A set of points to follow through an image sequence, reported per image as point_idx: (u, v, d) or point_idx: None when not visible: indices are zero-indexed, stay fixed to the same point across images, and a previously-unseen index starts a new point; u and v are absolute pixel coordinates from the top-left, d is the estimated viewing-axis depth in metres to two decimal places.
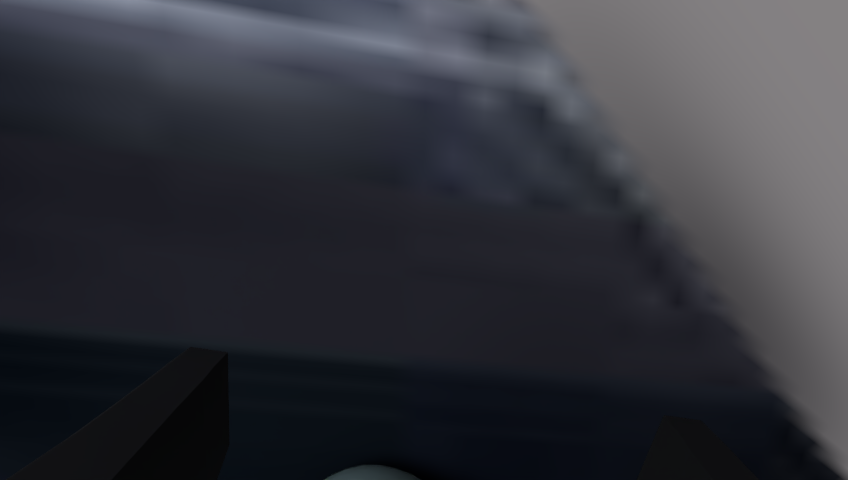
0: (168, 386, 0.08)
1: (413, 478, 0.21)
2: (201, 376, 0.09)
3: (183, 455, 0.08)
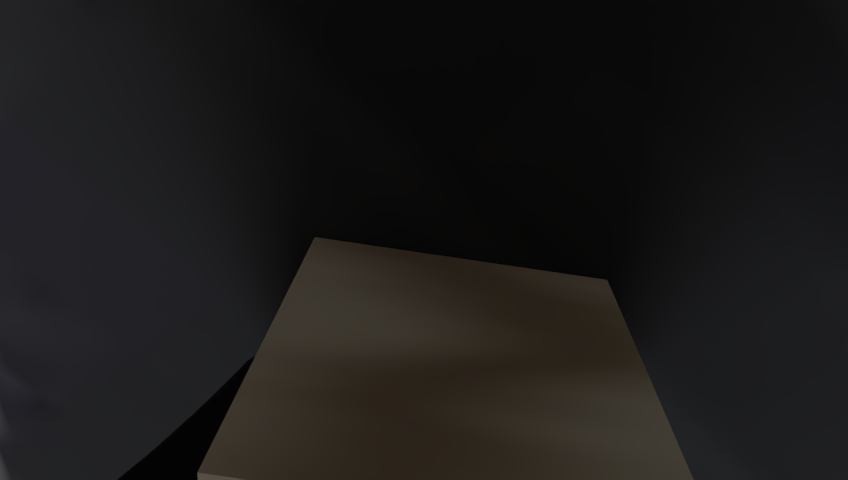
0: None
1: None
2: None
3: None
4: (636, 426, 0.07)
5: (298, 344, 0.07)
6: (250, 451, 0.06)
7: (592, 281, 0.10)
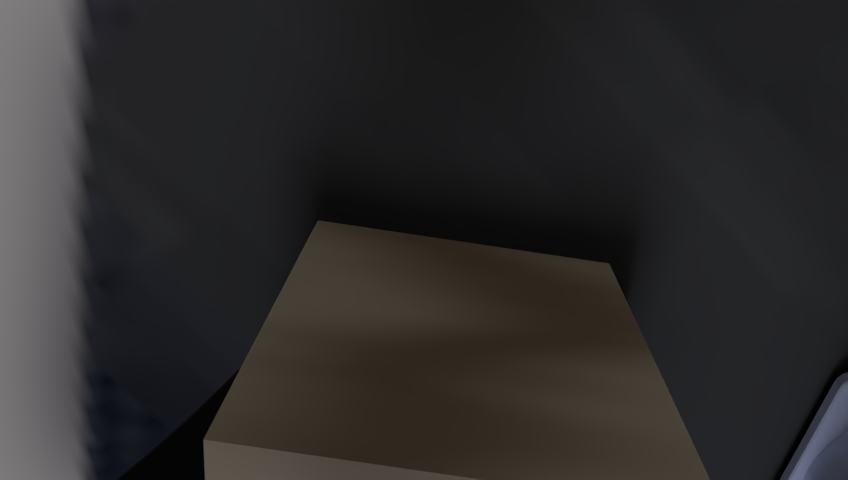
0: None
1: None
2: None
3: None
4: (639, 401, 0.07)
5: (303, 320, 0.08)
6: (255, 420, 0.06)
7: (594, 265, 0.10)
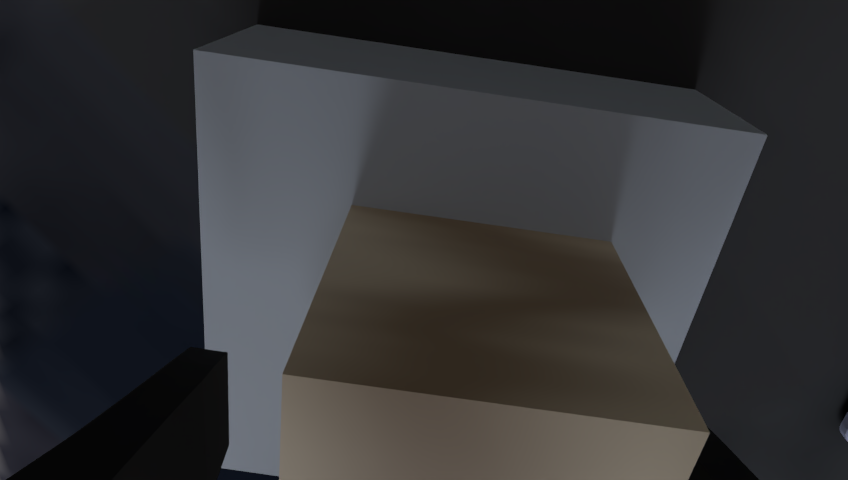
0: (168, 386, 0.08)
1: None
2: (201, 376, 0.09)
3: (183, 455, 0.08)
4: (639, 350, 0.08)
5: (350, 285, 0.09)
6: (322, 360, 0.07)
7: (598, 242, 0.11)
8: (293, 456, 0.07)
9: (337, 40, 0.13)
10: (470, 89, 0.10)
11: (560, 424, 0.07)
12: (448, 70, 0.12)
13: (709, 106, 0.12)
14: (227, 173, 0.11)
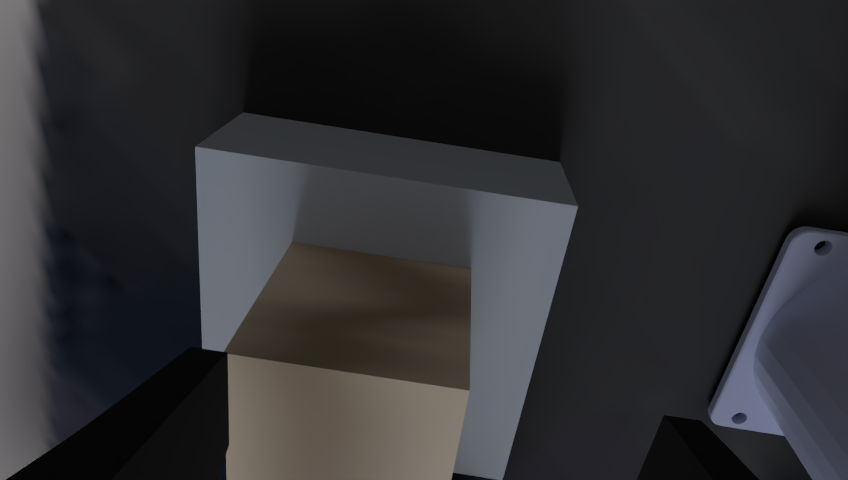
0: (168, 386, 0.08)
1: None
2: (201, 376, 0.09)
3: (183, 455, 0.08)
4: (451, 343, 0.13)
5: (276, 300, 0.14)
6: (247, 346, 0.12)
7: (461, 270, 0.16)
8: (232, 402, 0.13)
9: (299, 126, 0.18)
10: (379, 173, 0.15)
11: (384, 384, 0.12)
12: (371, 154, 0.17)
13: (556, 180, 0.17)
14: (217, 225, 0.16)
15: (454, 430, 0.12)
